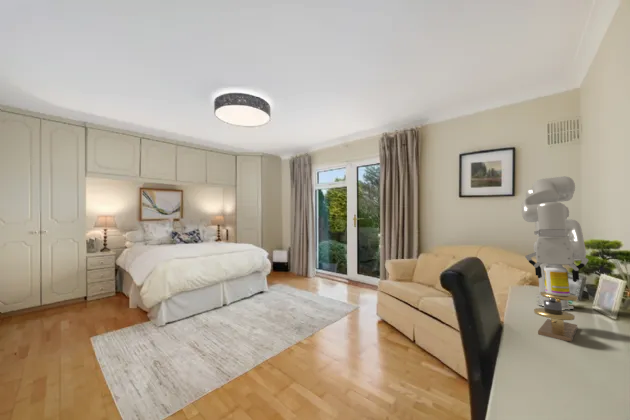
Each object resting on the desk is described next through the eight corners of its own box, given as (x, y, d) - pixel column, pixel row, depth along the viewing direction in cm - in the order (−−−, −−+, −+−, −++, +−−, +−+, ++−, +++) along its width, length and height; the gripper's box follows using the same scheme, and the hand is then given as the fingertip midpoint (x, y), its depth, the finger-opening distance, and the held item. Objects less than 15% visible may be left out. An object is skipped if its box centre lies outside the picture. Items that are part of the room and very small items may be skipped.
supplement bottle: (575, 296, 90) (572, 261, 91) (557, 296, 90) (554, 261, 91) (557, 292, 96) (554, 259, 97) (540, 292, 96) (537, 259, 97)
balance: (575, 345, 76) (571, 304, 78) (532, 335, 84) (529, 297, 85) (582, 327, 91) (578, 292, 92) (545, 319, 99) (542, 288, 100)
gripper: (521, 234, 99) (525, 277, 98) (584, 234, 86) (590, 284, 84) (525, 234, 104) (529, 275, 102) (586, 234, 90) (591, 281, 89)
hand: (556, 279), depth 93 cm, fingers open, 9 cm apart
